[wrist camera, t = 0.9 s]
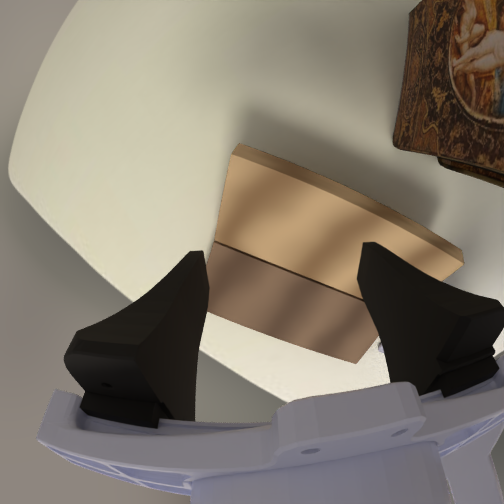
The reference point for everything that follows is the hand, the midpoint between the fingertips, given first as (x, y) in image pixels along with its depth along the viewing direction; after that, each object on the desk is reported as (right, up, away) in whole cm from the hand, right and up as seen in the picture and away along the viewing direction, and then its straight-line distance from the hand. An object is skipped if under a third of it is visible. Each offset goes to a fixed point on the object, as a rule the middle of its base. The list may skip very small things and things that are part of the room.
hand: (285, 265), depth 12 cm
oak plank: (+6, +2, +10) cm, 12 cm away
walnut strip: (+3, -5, +17) cm, 18 cm away
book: (+15, +17, +6) cm, 23 cm away
